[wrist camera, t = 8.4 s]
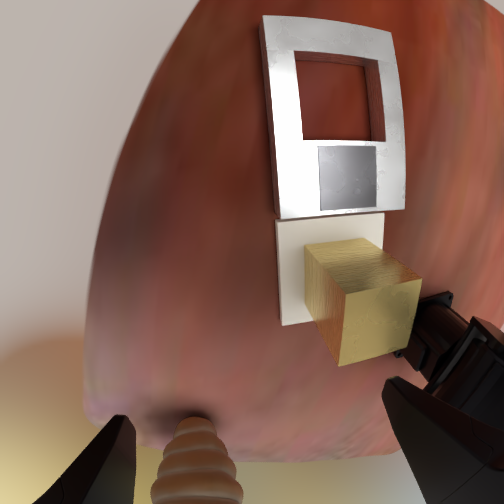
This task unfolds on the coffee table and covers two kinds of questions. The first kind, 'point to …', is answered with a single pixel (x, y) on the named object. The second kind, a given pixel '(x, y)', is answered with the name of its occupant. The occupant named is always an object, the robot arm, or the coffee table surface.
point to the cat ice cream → (196, 468)
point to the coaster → (311, 232)
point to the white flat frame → (332, 151)
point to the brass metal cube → (359, 298)
